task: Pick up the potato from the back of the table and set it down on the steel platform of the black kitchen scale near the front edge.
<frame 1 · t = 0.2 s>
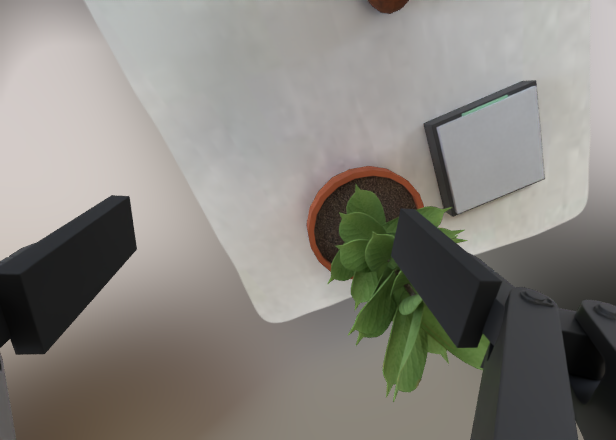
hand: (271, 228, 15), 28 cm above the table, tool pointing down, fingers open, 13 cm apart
potted plant: (351, 201, 45), on the table
scale: (480, 150, 44), on the table
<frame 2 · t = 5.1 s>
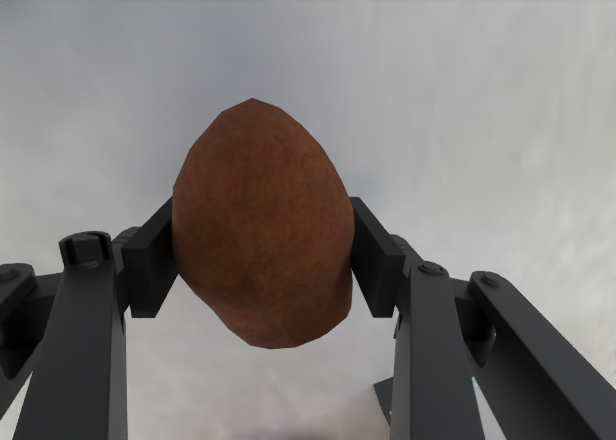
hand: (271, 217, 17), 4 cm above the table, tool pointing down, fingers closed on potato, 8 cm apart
potato: (271, 211, 17), point 4 cm above the table, touching gripper
scale: (461, 405, 30), on the table
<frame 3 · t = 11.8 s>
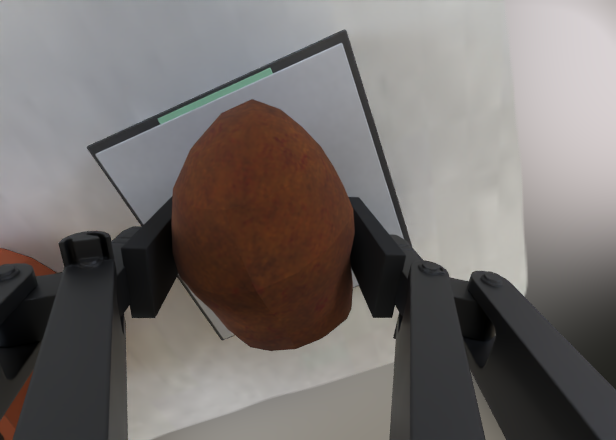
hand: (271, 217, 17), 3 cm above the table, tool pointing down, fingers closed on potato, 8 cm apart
potted plant: (7, 305, 21), on the table
potato: (271, 212, 17), point 3 cm above the table, touching gripper
scale: (273, 199, 20), on the table
when the fingers open (4 cm above the table, at t = 17.0 s): potato stays where it is, resting on scale.
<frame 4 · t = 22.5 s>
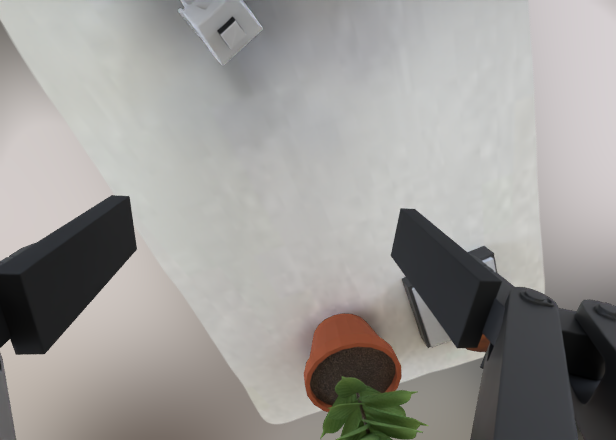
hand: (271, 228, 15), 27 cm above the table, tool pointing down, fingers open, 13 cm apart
potted plant: (342, 334, 53), on the table
tape dispenser: (223, 22, 34), on the table
scale: (451, 294, 52), on the table
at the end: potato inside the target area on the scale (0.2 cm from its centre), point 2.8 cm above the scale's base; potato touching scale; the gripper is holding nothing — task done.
